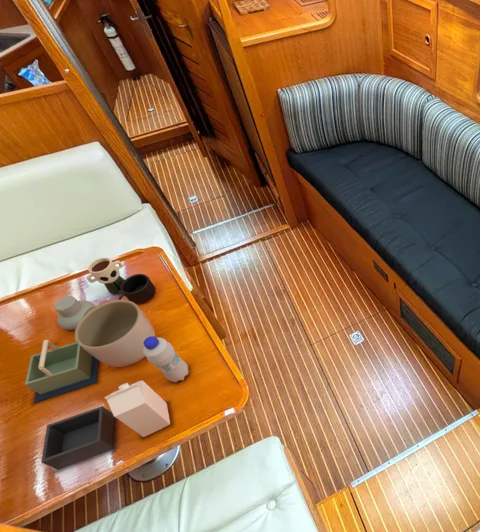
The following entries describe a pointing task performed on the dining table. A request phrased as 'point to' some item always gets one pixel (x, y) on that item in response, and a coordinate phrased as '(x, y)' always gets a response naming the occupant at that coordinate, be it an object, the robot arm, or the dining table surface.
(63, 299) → the air freshener
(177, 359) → the bottle
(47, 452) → the box
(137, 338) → the planter
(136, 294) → the mug
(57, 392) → the mat
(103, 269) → the character mug
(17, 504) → the dining table surface
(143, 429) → the milk carton
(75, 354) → the box
